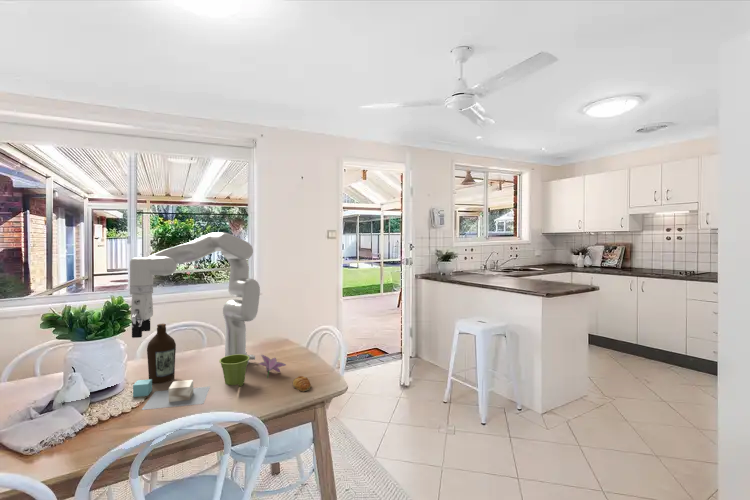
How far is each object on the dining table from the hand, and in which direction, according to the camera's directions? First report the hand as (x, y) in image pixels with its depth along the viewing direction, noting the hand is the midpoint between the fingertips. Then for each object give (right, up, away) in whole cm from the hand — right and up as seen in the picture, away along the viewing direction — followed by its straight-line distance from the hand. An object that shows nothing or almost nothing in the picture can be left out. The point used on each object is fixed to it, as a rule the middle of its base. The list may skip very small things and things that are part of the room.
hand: (141, 334), depth 142 cm
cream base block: (+16, -24, -2) cm, 29 cm away
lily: (+43, -25, +26) cm, 56 cm away
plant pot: (+30, -25, +14) cm, 42 cm away
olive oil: (-1, -24, +15) cm, 29 cm away
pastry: (+59, -26, +13) cm, 66 cm away
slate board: (+15, -25, -2) cm, 29 cm away
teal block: (0, -25, +1) cm, 25 cm away
